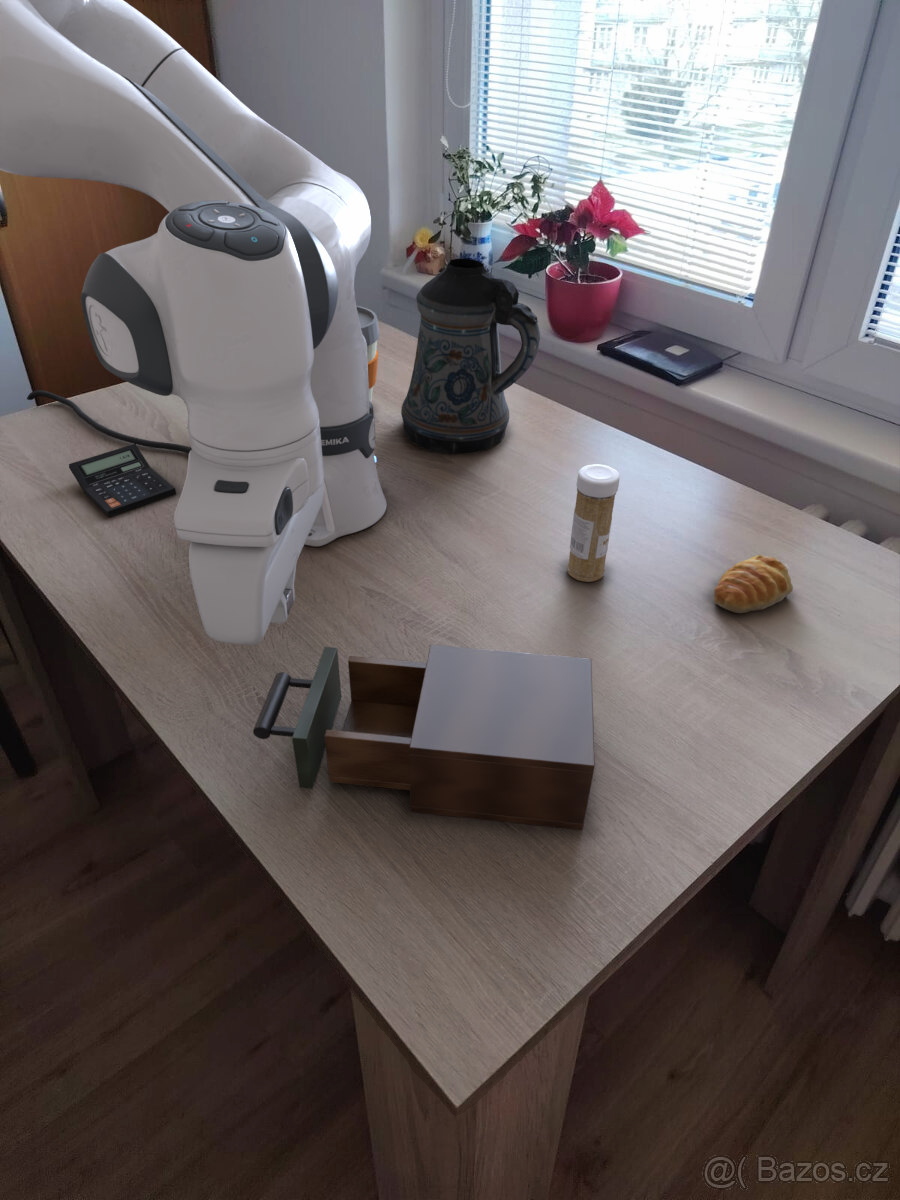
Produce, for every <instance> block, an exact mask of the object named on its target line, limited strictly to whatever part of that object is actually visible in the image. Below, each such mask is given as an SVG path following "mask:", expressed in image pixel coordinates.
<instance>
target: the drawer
mask: <svg viewBox="0 0 900 1200" xmlns="http://www.w3.org/2000/svg"><path fill="white" fill-rule="evenodd" d="M347 664H348V677H349V678H348V679H349V690H350V703H349V706H348V710H347V714H346V717H345V720H344V724H343V727H342V730H336V729H333V726H334V722H335V719H336V715H337V712H338V709H339V706H340V703H341V699H342V686H341V675H340V664H339V652H338V647H333V646H332V647H331V646H324V648H323V650H322V653H321V656H320V658H319V661H318V664H317V667H316V670H315V672H314V674H313V678H312V679H307V678H306V679H305V678H297V677H295V678H294V677H291V676H290V674H289V673H287V672H283V671H282V672H281V671H280V672H277V673H276V674H275V676H274V678H273V681H272V684H271V686H270V688H269V691H268V693H267V695H266V698H265V701H264V702H263V704H262V708H261V710H260V712H259V715H258V718H257V720H256V722H255V725H254V727H253V730H252V732H253V735H254V736H255V738H257V739H260V740H266V739H269V738H270V737H271V735H272V736H280V737H290V738H291V740H292V746H293V754H294V761H295V767H296V768H295V769H296V774H297V780H298V781H297V782H298V788H300V789H308V790H314V787H315V783H316V780H317V777H318V774H319V771H320V768H321V764H322V761H323V758H324V754H326V760H327V761H326V762H327V771H328V779H329V782H330V783H337V784H345V785H347V784H348V785H355V786H366V787H376V788H384V789H396V790H404V791H410V753H409V747H410V742H411V737H412V732H413V728H414V723H415V718H416V713H417V708H418V703H419V698H420V693H421V688H422V684H423V679H424V674H425V669H426V664H427V662H423V661H422V662H421V661H413V660H412V661H410V660H400V659H391V658H390V659H388V658H380V657H379V658H377V657H367V656H356V655H350V656H349V657H348V661H347ZM289 688H299V689H301V688H302V689H308V693H307V695H306V697H305V701H304V704H303V706H302V709H301V712H300V715H299V717H298V720H297V723H296V726H295V727H290V726H281V725H276V722H277V720H278V717H279V714H280V712H281V709H282V706H283V703H284V701H285V700H286V699H285V698H286V696H287V693H288V692H289V691H288V690H289Z"/></svg>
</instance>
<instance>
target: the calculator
mask: <svg viewBox="0 0 900 1200" xmlns="http://www.w3.org/2000/svg"><path fill="white" fill-rule="evenodd" d="M68 468H69V470H70V472H71V473H72V475H73V476H74V478H75V480H76V481H77V483H78V484H79V486H80V488H81V489H82V491H83V492H84V495H85V496H87V497H88V498H89V500H91V501H92V503H94V505H95V506H97V507H98V509H100V510H101V511H102V513H104V514H105V515H106V516H107V517H108V518H111V517H114V516H117V515H119V514H122V513H125V512H128V511H131V510H134V509H137V508H139V507H142V506H145V505H149V504H151V503H154V502H157V501H160V500H163V499H165V498H167V497H171V496H173V495H176V494H177V490H176V487H174V486H173V485H172V484H171V483H170V482H168V480H166V479H165V478H164V477H163V476H161V474H159V473H158V472H157V471H156V470H155V469H153V468H152V467H151V465H150V464H149V463H148V461H147V459H146V458H145V456H144V455H143V453H142V452H141V451H140V449H139V447H138V445H137V444H134V443H131V444H129V445H126V446H122V447H120V448H116V449H113V450H109V451H107V452H103V453H100V454H97V455H94V456H90V457H87V458H84V459H81V460H77V461H75V462H71V463H68Z"/></svg>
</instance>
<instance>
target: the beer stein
mask: <svg viewBox="0 0 900 1200" xmlns="http://www.w3.org/2000/svg"><path fill="white" fill-rule="evenodd" d="M519 295H520V293H519V291H518V289H517V286H516V285H515V283H514V282H512V281H510V280H507V279H502V278H498V277H495V276H494V275H493V274H491V273H490V272H489V271H488V269H487V268H486V265H485V263H483V262H481V261H480V260H479V261H478V260H477V259H470V258H454V259H450V260H449V261H448V262H447V264H446V267H445V268H444V269H443V270H442V271H440V272H439V273H437V275H435V276H434V277H433V278H431V279H430V280H429V281H427V282H426V283H425V284H424V285H423V286H422V287H421V288H420V290H419V291H418V292H417V294H416V297H415V300H416V306H417V311H418V313H419V314H420V322H419V330H418V333H417V334H418V335H417V343H416V350H415V358H414V362H413V368H412V374H411V378H410V383H409V387H408V391H407V393H406V396H405V398H404V400H403V402H402V405H401V411H400V414H401V419H402V422H403V425H402V431H403V432H404V434H405V436H406V437H407V438H408V440H409V441H410V443H412V444H414V445H416V446H417V447H420V448H421V449H423V450H425V451H429V452H434V453H440V454H445V455H470V454H474V453H475V454H476V453H480V452H485V451H488V450H490V449H491V448H493V447H495V446H497V445H498V444H500V443H501V442H502V440H503V439H504V438H505V436H506V430H507V428H508V426H509V425H508V424H509V421H510V408H509V406H508V405H509V404H508V403H507V400H506V395H505V390H507V389H508V388H510V387H511V386H513V384H515V383H516V382H518V380H519V379H520V378H521V377H522V376H524V374H525V373H526V372H527V371H528V369H530V367H531V366H532V364H533V362H534V361H535V359H536V357H537V354H538V351H539V348H540V343H541V329H540V326H539V323H538V322H539V321H538V316H537V315H536V314H535V313H534V312H533V311H532V308H530V307H529V306H528V305H526V304H525V303H521V302H519ZM499 325H501V326H502V325H503V326H511V327H513V328H514V329H516V330H517V331H518V333H519V336H520V341H521V346H520V347H521V348H520V350H519V351H518V353H517V355H516V357H515V358H514V360H513V361H512V362H511V363H510V364H509V365H508V366H507V367H506V368H505V369H504V371H502V364H501V363H502V362H501V361H502V360H501V349H500V348H501V347H500V335H499Z"/></svg>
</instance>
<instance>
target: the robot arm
mask: <svg viewBox="0 0 900 1200" xmlns="http://www.w3.org/2000/svg"><path fill="white" fill-rule="evenodd" d="M0 171H2V172H4V173H9V174H12V175H17V176H22V177H23V176H25V177H33V178H46V179H47V178H50V179H68V180H69V179H70V180H83V181H92V182H99V183H107V184H111V185H117V186H121V187H126V188H129V189H132V190H135V191H138V192H140V193H143V194H145V195H146V196H148V197H150V198H152V199H154V200H155V201H156V202H158V203H159V204H160V205H161V206H163V208H164V209H166V211H167V212H169V213H167V214H166V215H165V216H164V217H163V218H162V220H161V222H160V223H159V226H158V229H157V232H156V233H154V234H152V235H151V236H149V237H146V238H143V239H140V240H137V241H133V242H130V243H126V244H123V245H119V246H116V247H114V248H111V249H109V250H108V251H106V252H101V253H99V254H98V255H97V257H96V258H95V259H94V260H93V262H92V264H90V267H89V268H88V270H87V273H86V276H85V279H84V282H83V286H82V291H81V294H80V302H81V308H82V314H83V317H84V323H85V325H86V330H87V332H88V336H89V339H90V342H91V345H92V347H93V350H94V353H95V355H96V357H97V359H98V361H99V362H100V364H101V365H102V367H104V369H105V370H107V371H108V372H109V373H111V374H113V375H114V376H116V377H118V378H119V379H121V380H123V381H125V382H126V383H128V384H130V385H133V386H136V387H138V388H140V389H142V390H144V391H147V392H150V393H152V394H155V395H158V396H163V397H168V396H171V395H172V396H176V397H179V398H180V399H181V400H182V401H183V402H184V404H185V406H186V409H187V431H188V432H187V433H188V437H189V443H190V446H187V445H183V444H178V443H172V442H164V441H163V442H162V441H155V440H150V439H149V440H148V439H143V438H139V437H135V436H131V435H126V434H124V433H120V432H118V431H115V430H113V429H110V428H108V427H105V426H103V425H102V424H100V423H98V422H96V420H94V419H92V418H91V417H90V416H89V415H87V413H85V412H84V411H82V410H81V408H80V407H79V406H78V405H77V404H75V402H73V401H72V400H70V399H68V398H66V397H63V396H61V395H59V394H55V393H52V392H50V391H46V390H41V389H40V390H33V391H31V392H30V393H29V394H28V395H27V397H26V400H28V401H32V400H34V399H35V398H37V397H43V398H47V399H50V400H53V401H56V402H58V403H60V404H63V405H65V406H68V407H69V408H70V409H72V410H73V412H74V413H75V414H76V415H77V417H79V418H80V419H82V420H83V421H84V422H85V423H87V424H88V425H89V426H91V427H92V428H94V429H95V430H97V432H99V433H102V434H105V435H107V436H109V437H111V438H113V439H116V440H118V441H119V440H120V441H124V442H127V443H129V444H136V445H137V446H142V447H148V448H154V449H162V450H170V451H177V452H182V453H185V454H188V457H187V470H186V476H185V480H184V483H183V487H182V490H181V493H180V496H179V499H178V501H177V505H176V507H175V510H174V514H173V524H174V528H175V533H176V536H177V538H178V540H179V541H180V540H181V541H185V542H190V543H189V548H188V568H189V574H190V575H189V576H190V580H191V584H192V589H193V593H194V598H195V602H196V605H197V610H198V614H199V617H200V620H201V623H202V626H203V630H204V632H205V633H206V635H207V636H208V637H209V638H211V640H214V641H215V642H218V643H225V644H231V645H232V644H233V645H246V646H247V645H248V646H255V645H256V646H257V645H259V644H261V643H262V641H263V640H264V637H265V635H266V633H267V631H268V628H269V625H270V624H280V625H281V624H282V625H283V624H285V623H287V620H288V617H289V615H290V612H291V609H292V607H293V605H294V603H295V600H296V591H295V580H296V573H297V572H296V571H297V564H298V560H299V558H300V555H301V553H302V551H303V549H304V546H309V547H316V548H317V547H322V546H325V545H327V544H329V543H331V542H333V541H335V540H336V539H337V538H340V537H343V536H347V535H351V534H354V533H357V532H361V531H362V530H365V529H368V528H369V527H371V526H373V525H374V524H376V523H377V522H378V521H380V519H382V517H383V516H384V514H385V513H386V510H387V505H388V503H387V500H386V497H385V494H384V491H383V489H382V485H381V482H380V478H379V474H378V470H377V456H375V448H376V442H377V441H376V437H377V436H376V418H375V416H374V415H375V414H374V406H373V403H372V402H370V401H369V382H368V360H367V343H366V340H365V338H364V336H363V334H362V331H361V327H360V322H359V317H358V312H357V307H356V306H357V301H356V295H355V277H356V273H357V266H358V264H359V263H360V262H361V259H362V258H363V257H364V255H365V253H366V252H367V250H368V247H369V244H370V240H371V235H372V219H371V218H372V217H371V211H370V207H369V203H368V202H369V201H368V199H367V198H366V195H365V194H364V192H363V190H362V189H361V188H360V186H359V185H358V184H357V183H356V182H355V181H354V180H353V179H351V178H350V177H349V176H347V175H345V174H343V173H341V172H338V171H337V170H334V169H333V168H332V167H330V166H329V165H327V164H325V162H324V161H322V160H320V159H319V158H318V157H317V156H315V155H314V154H313V153H311V152H310V151H308V150H307V149H305V148H304V147H303V146H302V145H300V144H299V143H297V142H296V141H294V140H293V139H292V138H290V137H289V136H287V135H286V134H284V133H282V131H280V130H278V129H277V128H276V127H274V126H273V125H271V124H269V122H267V121H265V120H264V119H263V118H261V117H260V116H259V115H258V114H256V113H255V112H254V111H253V110H251V109H250V108H249V107H248V106H247V105H246V104H245V103H243V102H242V101H241V100H240V99H239V98H238V97H236V95H235V94H233V93H232V92H231V90H229V89H228V88H227V87H226V86H225V85H224V84H222V82H221V81H219V80H218V79H217V78H216V77H215V76H214V75H213V74H212V73H211V72H210V71H208V69H206V67H204V66H203V65H202V64H201V63H200V62H199V61H198V60H197V59H196V58H195V57H193V55H191V54H190V53H189V52H188V50H186V49H185V48H184V47H182V46H181V44H179V43H178V42H177V41H176V40H175V39H174V38H173V37H172V36H170V35H169V34H168V33H167V32H166V31H164V30H163V29H162V28H161V27H159V26H158V25H157V24H156V23H154V22H153V21H152V20H151V19H150V18H149V17H147V16H146V15H144V14H143V13H142V12H140V11H139V10H138V9H136V8H135V7H134V6H132V5H130V3H128V2H127V1H125V0H0Z"/></svg>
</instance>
